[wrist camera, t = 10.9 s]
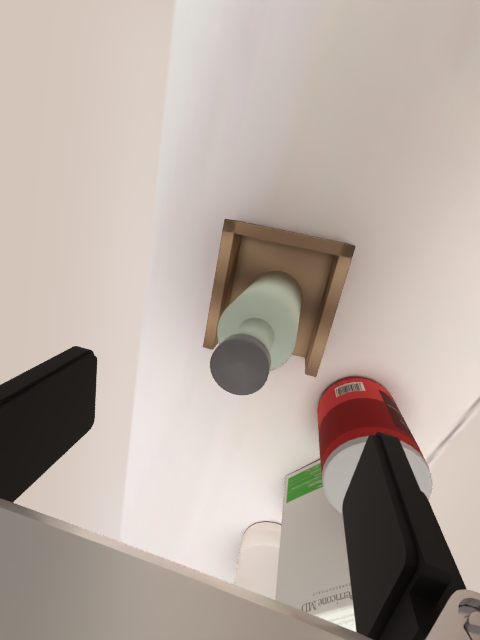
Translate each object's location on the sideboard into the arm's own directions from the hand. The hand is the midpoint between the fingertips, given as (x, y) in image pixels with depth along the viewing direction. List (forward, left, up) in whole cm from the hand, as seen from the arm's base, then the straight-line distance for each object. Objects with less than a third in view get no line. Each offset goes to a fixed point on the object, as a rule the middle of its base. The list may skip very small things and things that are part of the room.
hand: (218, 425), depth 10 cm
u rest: (0, 0, -23) cm, 23 cm away
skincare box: (+21, +11, -23) cm, 33 cm away
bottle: (0, 0, -23) cm, 23 cm away
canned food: (+10, +11, -23) cm, 28 cm away
